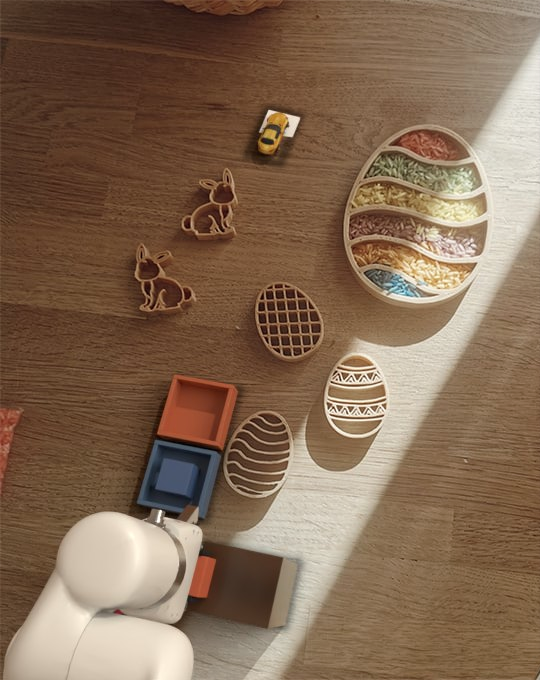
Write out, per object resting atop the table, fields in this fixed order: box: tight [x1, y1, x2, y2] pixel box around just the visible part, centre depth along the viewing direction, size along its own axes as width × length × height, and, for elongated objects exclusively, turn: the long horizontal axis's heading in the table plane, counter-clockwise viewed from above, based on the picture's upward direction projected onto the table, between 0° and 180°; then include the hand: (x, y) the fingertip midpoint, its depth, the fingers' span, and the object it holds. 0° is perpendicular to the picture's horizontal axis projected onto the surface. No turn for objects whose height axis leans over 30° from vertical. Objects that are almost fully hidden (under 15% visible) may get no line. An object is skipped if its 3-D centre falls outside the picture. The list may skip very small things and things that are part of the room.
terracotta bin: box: [156, 374, 239, 452], centre depth 108 cm, size 9×9×4 cm
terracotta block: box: [188, 555, 216, 598], centre depth 84 cm, size 4×4×4 cm
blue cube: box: [155, 458, 201, 500], centre depth 104 cm, size 4×4×4 cm
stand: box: [185, 540, 299, 630], centre depth 93 cm, size 8×13×16 cm, turn 78°
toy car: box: [256, 109, 301, 156], centre depth 124 cm, size 4×8×2 cm, turn 162°
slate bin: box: [136, 439, 222, 520], centre depth 104 cm, size 9×9×4 cm
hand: (191, 574), depth 85 cm, fingers closed on terracotta block, 4 cm apart
